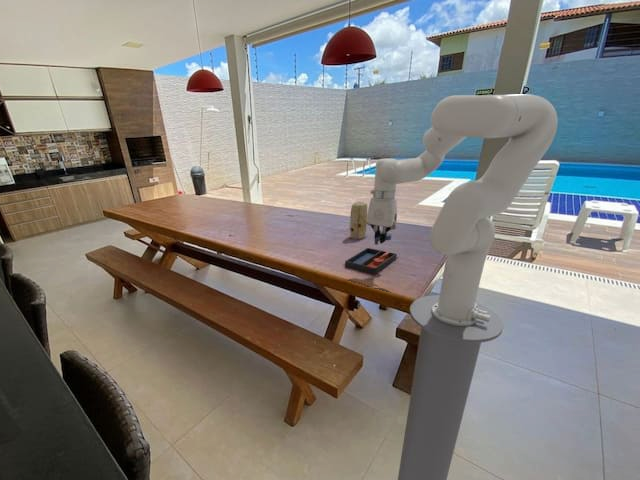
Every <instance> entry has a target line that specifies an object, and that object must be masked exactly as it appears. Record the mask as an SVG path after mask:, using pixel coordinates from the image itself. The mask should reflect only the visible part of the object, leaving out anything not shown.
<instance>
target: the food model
mask: <svg viewBox="0 0 640 480" xmlns="http://www.w3.org/2000/svg"><path fill="white" fill-rule="evenodd" d="M367 214H368V203H367V202H364V201H356V202H354V203H352V205H351V207H350V216H349V234H350V239H358V240H361V239H364V238H365V237H366V234H367V226H368V225H367Z"/></svg>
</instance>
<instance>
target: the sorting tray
mask: <svg viewBox="0 0 640 480" xmlns="http://www.w3.org/2000/svg"><path fill="white" fill-rule="evenodd" d="M386 252H387V251H384V250H380V249H375V248H371V247H367V248H364V249H363V250H361V251H360V252H358V253H357V254H355V255H353V256H351V257H349V258H348V259H346V260H345V262H344V267H345V268H347V269H350V270H354V271H357V272H362V273H365V274H369V275H373V276H376V275H378V274H379V273H380V272H382V271H383V270H384V269H386V268H387V267H388V266H390V265H391V264H392V263H394V262H395V261H396V260H397V253H394V252H390V251H388V252H389V255H388V256H389V257H388V258H386V257H384V258H383V260H384V262H383V263H381V264H380V265H375V264H374V259H375V258H379V257H380V256H382V255H383V254H385V253H386Z"/></svg>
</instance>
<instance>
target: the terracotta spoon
mask: <svg viewBox="0 0 640 480" xmlns="http://www.w3.org/2000/svg"><path fill="white" fill-rule="evenodd" d="M385 252H386V253H385V254H383V255H382V256H380V257H379V258H375V259H374V264H375V265H380V264H381V263H383V262H384V260H383V258H384V257H386V258H388V257H389V256H388V255H389V252H390V251H385Z"/></svg>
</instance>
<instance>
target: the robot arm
mask: <svg viewBox="0 0 640 480" xmlns="http://www.w3.org/2000/svg"><path fill="white" fill-rule="evenodd" d="M558 122H559V119H558V114H557V111H556V109H555V106H554V105H553V104H552V103H551V102H550V101H549V100H548V99H546V98H545V97H542V96H541V95H535V94H527V93H526V94H522V93H520V94H517V93H516V94H487V95H486V94H483V95H476V94H455V95H450V96H446V97H445V98H442V99H441V100H440V101H439V102H438V103H437V104H436V106H435V107H434V108H433V110H432V113H431V115H430V126H431V127H430V128H429V129H428V130H427V131H425V133H424V134H423V136H422V145H423V148H424V149H425V151H423V152H422V153H421V154H419V155H418V156H417V157H413V158H412V157H411V158H403V159H397V158H391V157H390V158H389V157H388V158H387V157H386V158H380V159H378V160H377V161H376V162H375V173H374V184H373V189H371V190H370V194H372V196H371V198H370V201H369V205H368V207H367V226H369V227H370V228H371V229H372V230H373V232H374V237H373V239H374V240H375V238H377V237H379V236H380V240H379V241H378V242H379V243H380V244H384V243H385V242H386V241H387V240H386V235H387V233H388V232H389V231H393V230H396V229H398V225H397V221H398V200H397V198H396V191H397V185H398V184H399V185H400V184H405V183H412V182H418V181H421V180H423V179H425V178H426V177H428V176H429V175H431V173H434V172H435V171H436V170H437V169H438V168H439V167H440V166H441V165H442V164H443V162H444V160H445V158H446V154H448V153H449V152H451V151H452V150H453V149H455V147H456V146H458V145H459V144H460V143H461V142H463V141H464V140H465V139H467V138H476V139H496V138H497V139H499V138H507V137H509V139H508V140H507V141H506V143H505V144H504V145H503V147H501V149H500V150H499V151H498V152H497V153H496V154H495V155H494V157H493V158H492V160H491V162H490V164H489V165H488V168H487V169H486V170H485V172H484V174H483V175H482V176H481V177H480V178H479V179H477V180H469V181H466V182H463V183H461V184H459V185H457V186H456V187H455V188H454V189H453V190H452V191H451V192H450V193H449V195H448V196H447V198H446V200H445V201H444V204H443V205H442V208H441V209H440V211H439V214H438V215H437V217H436V219H435V221H434V223H433V225H432V227H431V230H430V234H429V243H430V246H431V248H432V249H433V250H434V251H435V253H437V254H440V255H442V256H446V259H445V264H444V269H443V275H442V279H441V286H440V291H439V295H440V296H439V302H438V303H437V304H435V305H433V307H432V314H433V315H434V316H435V317H436V318H437V319H439V320H440V321H442V322H445V323H447V324H451V325H456V326H470V325H473V324H475V323H476V322H477V320H478V319H481V320H483V321H486V322H489V321H490V317H491V316H489V315H487V311H482V310H479V309H478V308H477V303H478V302H477V303H475V302H476V301H477V296H478V292H479V287H480V284H481V279H482V275H483V273H484V272H483V271H484V267H485V264H486V260H487V256H488V254H489V251H490V250H491V247H492V245H493V242H494V239H495V237H496V227H495V223H494V222H493V221H492V219H491V217H494V216H495V217H496V216H498V215H501V214H503V213H504V212H505V211H507V209H509V207H510V206H511V205H512V203H513V201H514V200H515V199H516V197H517V196H518V194H519V192H520V191H521V190H522V188H523V186H524V185H525V184H526V182H527V181H528V179H529V177H530V176H531V174H532V173H533V171H534V169H535V168H536V167H537V165H538V164H539V162H540V161H541V159H542V158H543V157H544V155H545V154H546V152H547V151H548V150H549V148H550V146H551V145H552V143H553V141H554V139H555V136H556V134H557V130H558V124H559V123H558ZM381 227H382V230H381Z"/></svg>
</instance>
